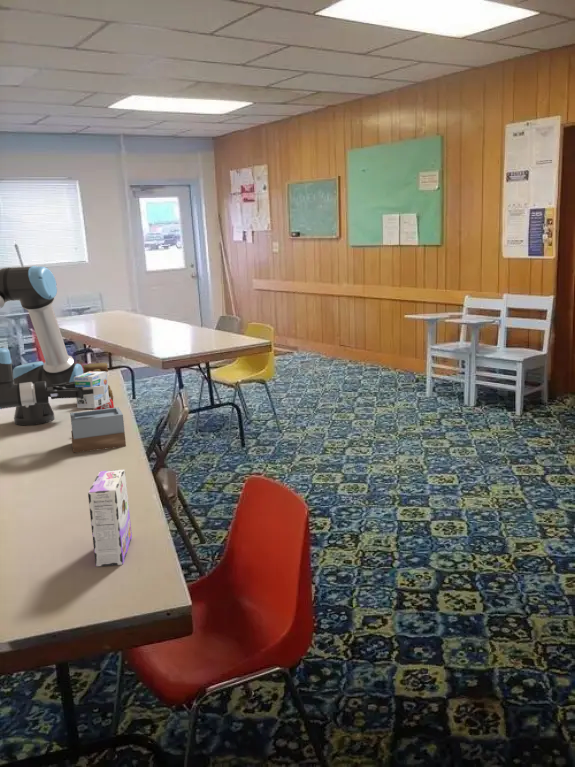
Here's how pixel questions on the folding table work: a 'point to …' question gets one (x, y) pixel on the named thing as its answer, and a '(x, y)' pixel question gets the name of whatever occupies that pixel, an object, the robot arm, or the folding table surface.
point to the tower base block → (98, 442)
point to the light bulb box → (90, 381)
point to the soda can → (106, 405)
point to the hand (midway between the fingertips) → (102, 386)
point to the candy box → (110, 517)
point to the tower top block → (97, 423)
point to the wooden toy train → (98, 368)
